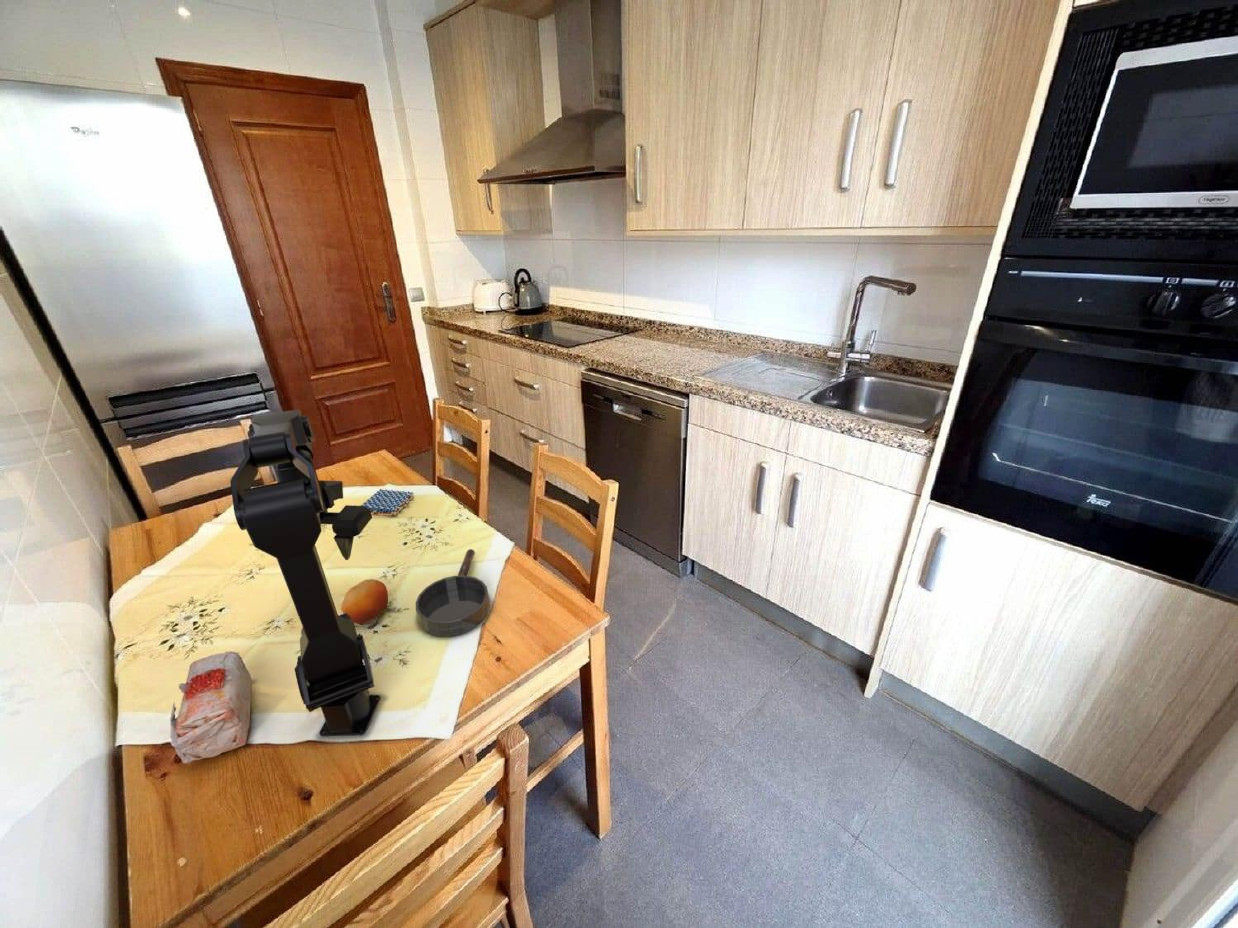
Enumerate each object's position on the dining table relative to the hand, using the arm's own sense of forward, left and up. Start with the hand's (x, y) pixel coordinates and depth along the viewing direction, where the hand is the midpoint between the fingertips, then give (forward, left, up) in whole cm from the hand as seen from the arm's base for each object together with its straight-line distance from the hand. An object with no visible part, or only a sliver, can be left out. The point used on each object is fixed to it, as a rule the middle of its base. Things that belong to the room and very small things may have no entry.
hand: (322, 557), depth 91 cm
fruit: (-1, -6, -12) cm, 14 cm away
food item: (-24, +6, -12) cm, 28 cm away
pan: (-1, -22, -12) cm, 25 cm away
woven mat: (+39, +5, -12) cm, 41 cm away
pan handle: (+10, -22, -11) cm, 26 cm away
